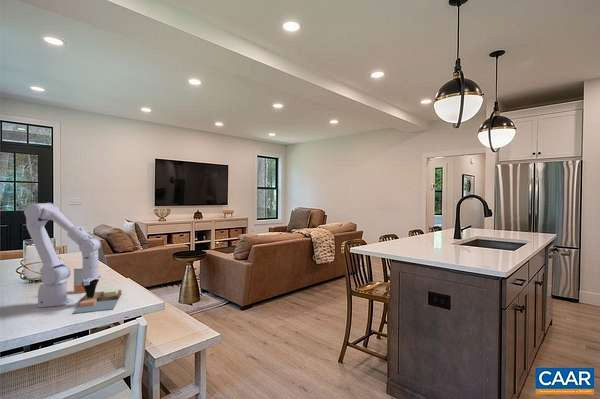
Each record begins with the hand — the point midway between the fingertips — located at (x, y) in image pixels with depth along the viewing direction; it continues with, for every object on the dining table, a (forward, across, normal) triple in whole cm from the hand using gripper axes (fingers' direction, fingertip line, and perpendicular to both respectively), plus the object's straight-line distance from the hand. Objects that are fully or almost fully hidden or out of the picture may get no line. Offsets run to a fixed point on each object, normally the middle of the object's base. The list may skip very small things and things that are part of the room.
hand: (90, 297), depth 136 cm
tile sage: (+1, +4, -7) cm, 8 cm away
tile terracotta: (+2, -2, 0) cm, 3 cm away
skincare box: (+3, +20, +7) cm, 21 cm away
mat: (+3, -6, -3) cm, 7 cm away
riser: (+3, +5, -4) cm, 7 cm away
